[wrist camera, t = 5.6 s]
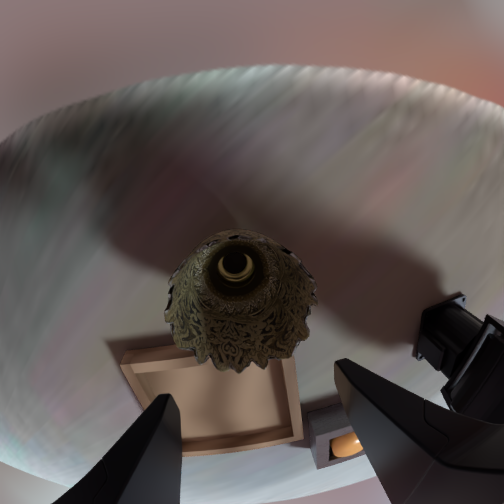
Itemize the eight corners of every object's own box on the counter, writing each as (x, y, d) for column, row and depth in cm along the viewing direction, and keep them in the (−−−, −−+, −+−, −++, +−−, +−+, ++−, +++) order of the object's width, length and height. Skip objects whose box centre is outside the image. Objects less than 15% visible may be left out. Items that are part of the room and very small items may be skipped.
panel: (375, 390, 27) (389, 411, 23) (369, 429, 29) (379, 448, 26) (307, 412, 26) (315, 436, 23) (310, 448, 29) (317, 469, 25)
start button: (364, 413, 26) (373, 429, 23) (361, 434, 27) (368, 448, 25) (327, 426, 26) (334, 442, 23) (327, 445, 27) (333, 461, 24)
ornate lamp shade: (269, 315, 22) (291, 382, 15) (176, 297, 21) (157, 361, 14) (296, 224, 20) (339, 257, 13) (195, 200, 19) (178, 221, 12)
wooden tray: (285, 323, 23) (291, 337, 21) (299, 425, 27) (303, 438, 25) (125, 350, 22) (119, 364, 20) (177, 443, 26) (175, 457, 24)
